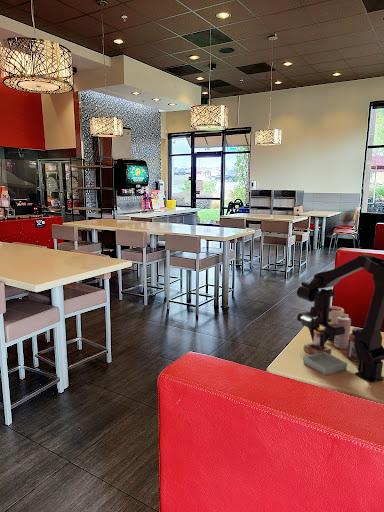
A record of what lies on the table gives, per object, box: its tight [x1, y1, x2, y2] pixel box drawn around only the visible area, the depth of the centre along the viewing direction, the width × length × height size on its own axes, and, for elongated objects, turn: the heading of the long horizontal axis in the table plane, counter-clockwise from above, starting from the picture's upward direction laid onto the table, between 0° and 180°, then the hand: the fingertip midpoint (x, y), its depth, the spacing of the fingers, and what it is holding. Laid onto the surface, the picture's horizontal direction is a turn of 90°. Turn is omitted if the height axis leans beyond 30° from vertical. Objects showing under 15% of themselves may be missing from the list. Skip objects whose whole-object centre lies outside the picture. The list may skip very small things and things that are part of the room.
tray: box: [302, 352, 348, 376], centre depth 133 cm, size 10×10×2 cm
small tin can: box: [312, 327, 323, 350], centre depth 145 cm, size 4×4×9 cm
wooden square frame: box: [303, 342, 332, 355], centre depth 145 cm, size 7×7×2 cm
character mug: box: [328, 305, 349, 340], centre depth 159 cm, size 11×7×13 cm, turn 67°
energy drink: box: [333, 316, 352, 350], centre depth 151 cm, size 5×5×12 cm
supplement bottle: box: [346, 327, 362, 362], centre depth 140 cm, size 6×6×11 cm
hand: (318, 344), depth 145 cm, fingers closed on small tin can, 4 cm apart
